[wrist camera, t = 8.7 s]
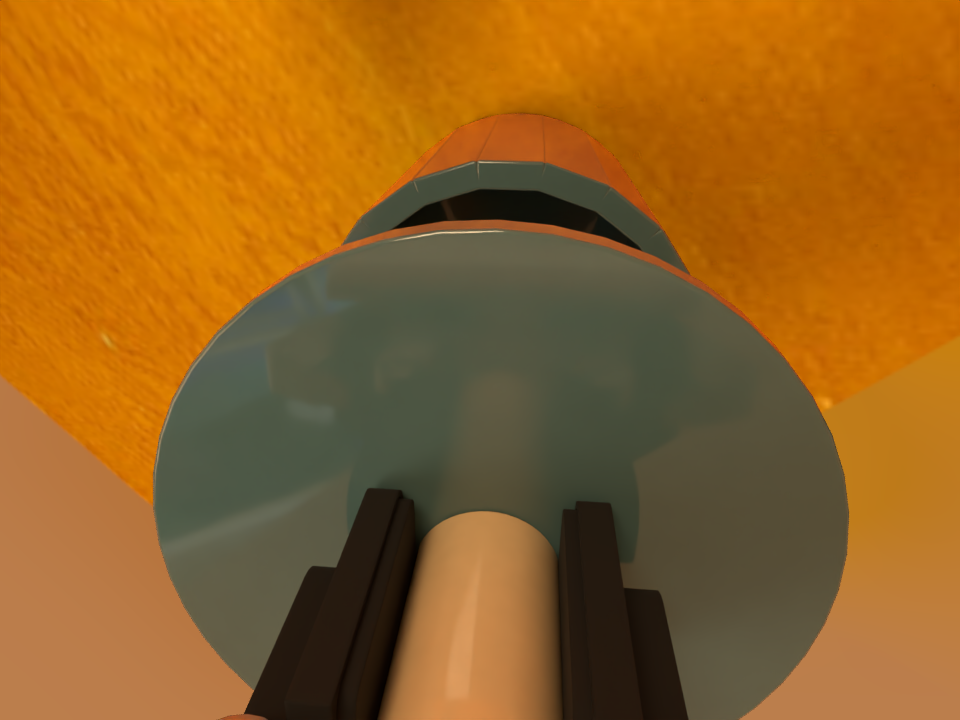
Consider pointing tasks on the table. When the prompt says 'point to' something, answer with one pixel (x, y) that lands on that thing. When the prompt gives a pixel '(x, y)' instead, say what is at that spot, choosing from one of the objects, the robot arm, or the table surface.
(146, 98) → the table surface
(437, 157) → the canister
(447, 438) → the canister lid
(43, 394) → the table surface
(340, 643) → the robot arm
